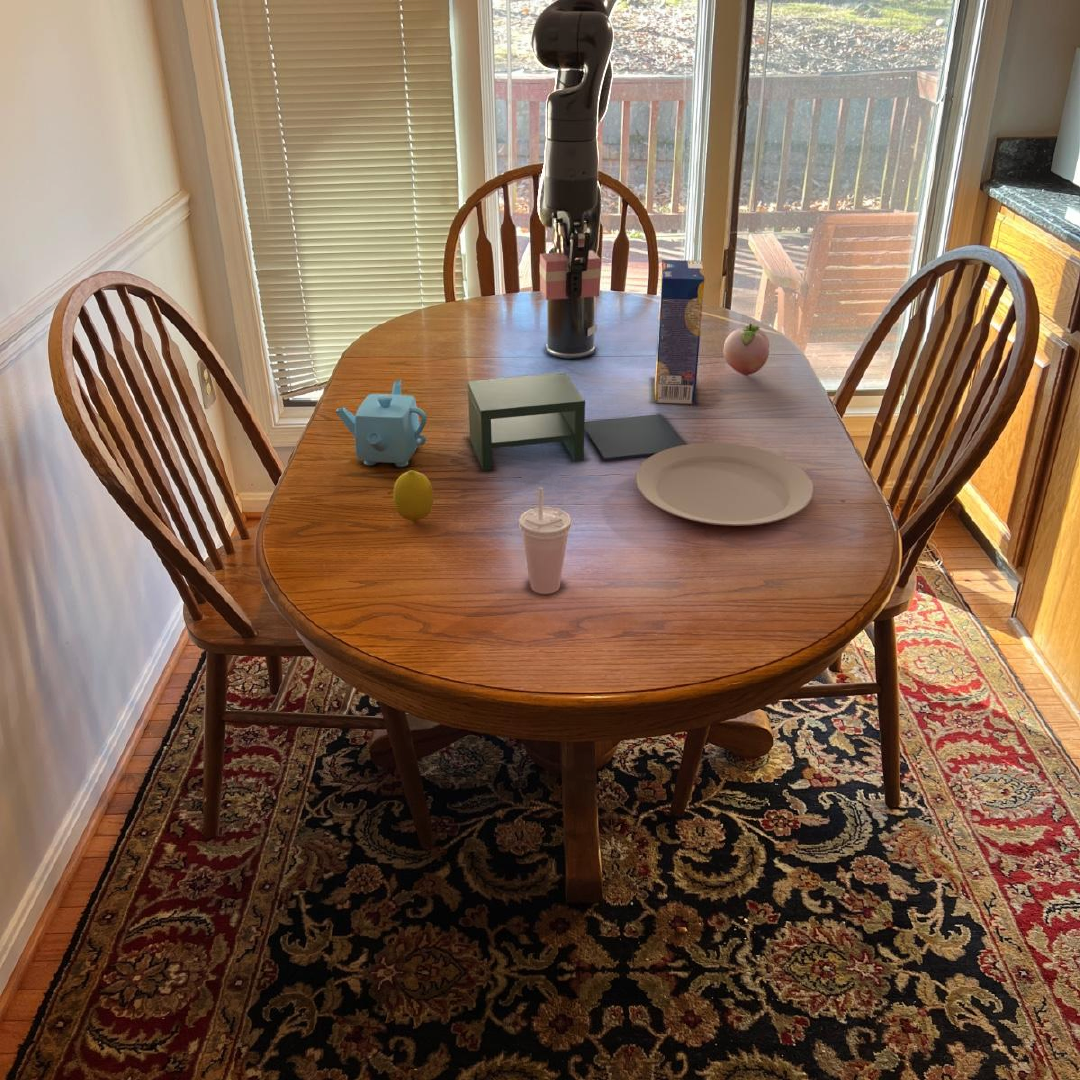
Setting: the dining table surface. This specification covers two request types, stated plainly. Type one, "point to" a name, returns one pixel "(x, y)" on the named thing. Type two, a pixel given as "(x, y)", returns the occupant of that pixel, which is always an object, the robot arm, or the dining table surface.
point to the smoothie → (545, 545)
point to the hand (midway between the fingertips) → (569, 291)
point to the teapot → (386, 427)
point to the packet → (556, 276)
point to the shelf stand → (525, 414)
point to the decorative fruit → (746, 349)
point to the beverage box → (678, 331)
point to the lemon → (413, 496)
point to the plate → (724, 484)
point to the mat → (631, 436)
